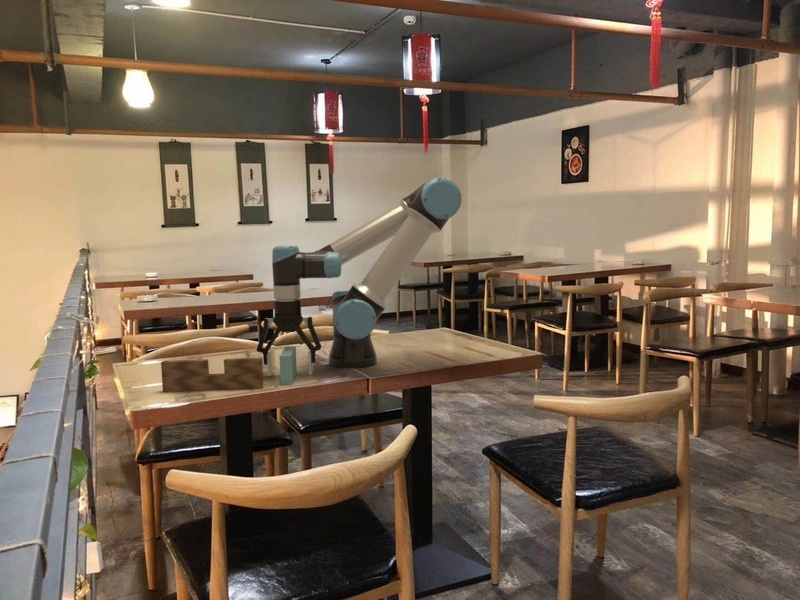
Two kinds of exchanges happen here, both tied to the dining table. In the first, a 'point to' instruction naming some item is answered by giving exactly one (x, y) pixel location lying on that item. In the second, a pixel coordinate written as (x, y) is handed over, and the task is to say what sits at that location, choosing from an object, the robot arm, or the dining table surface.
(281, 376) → the teal green block
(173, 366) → the walnut board
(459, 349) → the dining table surface
